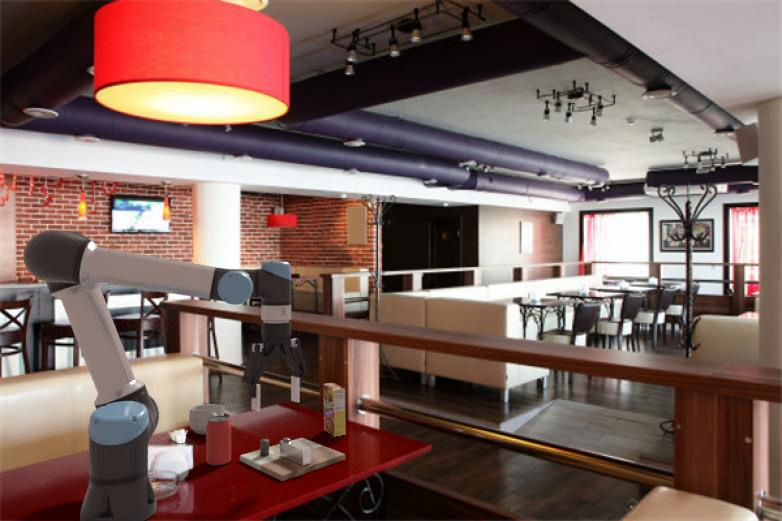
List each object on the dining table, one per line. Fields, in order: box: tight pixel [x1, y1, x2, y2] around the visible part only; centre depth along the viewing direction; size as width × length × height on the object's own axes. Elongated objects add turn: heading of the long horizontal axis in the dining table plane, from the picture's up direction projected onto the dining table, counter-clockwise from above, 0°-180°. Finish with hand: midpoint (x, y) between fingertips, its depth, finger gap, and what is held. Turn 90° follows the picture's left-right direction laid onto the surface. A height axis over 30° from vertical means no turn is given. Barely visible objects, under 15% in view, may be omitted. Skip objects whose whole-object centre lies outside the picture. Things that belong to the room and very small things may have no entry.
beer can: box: [205, 415, 232, 466], centre depth 155 cm, size 7×7×12 cm
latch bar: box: [279, 437, 311, 465], centre depth 153 cm, size 10×3×5 cm, turn 46°
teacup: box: [188, 403, 225, 435], centre depth 180 cm, size 14×11×8 cm
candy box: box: [323, 382, 347, 438], centre depth 180 cm, size 9×4×15 cm, turn 28°
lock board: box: [239, 437, 346, 482], centre depth 157 cm, size 21×20×6 cm
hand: (276, 405), depth 146 cm, fingers open, 11 cm apart
